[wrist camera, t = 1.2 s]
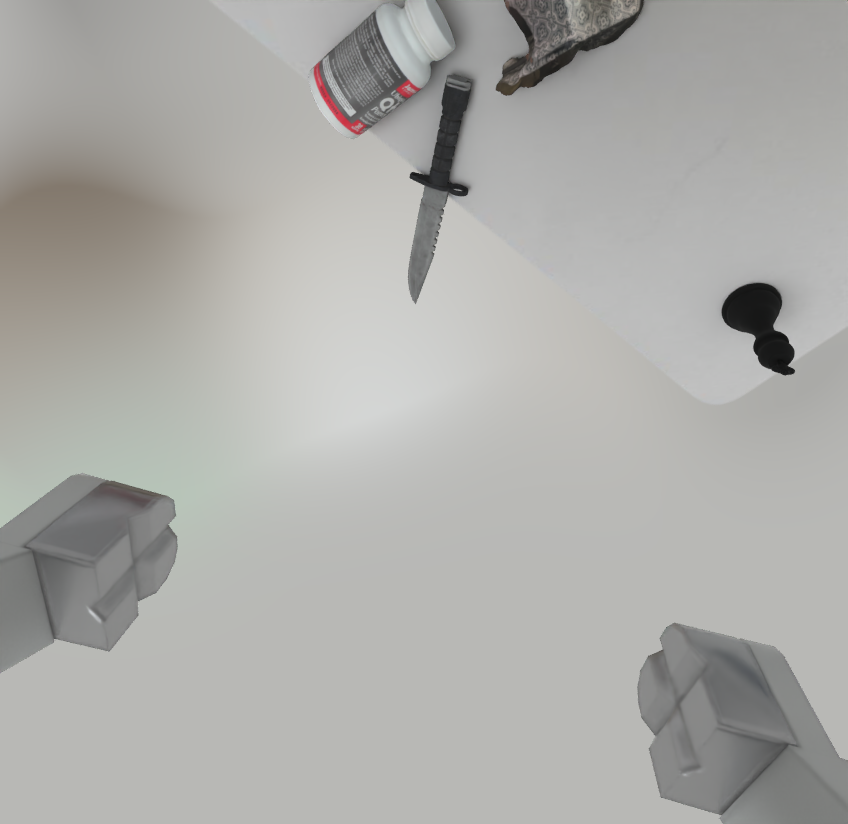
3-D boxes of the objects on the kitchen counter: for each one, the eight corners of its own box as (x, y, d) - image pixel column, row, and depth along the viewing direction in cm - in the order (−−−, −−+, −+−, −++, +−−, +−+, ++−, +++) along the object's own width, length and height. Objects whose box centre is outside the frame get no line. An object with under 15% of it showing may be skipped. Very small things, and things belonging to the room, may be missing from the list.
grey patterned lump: (434, 27, 33) (599, -144, 24) (474, -15, 37) (634, -180, 27) (505, 135, 37) (672, 23, 28) (536, 89, 40) (694, -25, 31)
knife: (392, 290, 51) (439, 306, 51) (386, 300, 50) (435, 316, 50) (432, 67, 38) (496, 86, 38) (425, 71, 37) (492, 91, 36)
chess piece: (764, 332, 45) (800, 403, 38) (712, 323, 46) (739, 391, 38) (791, 287, 42) (837, 355, 35) (736, 278, 43) (770, 343, 35)
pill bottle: (347, 152, 38) (458, 68, 33) (296, 83, 35) (410, -20, 30) (362, 125, 42) (463, 46, 37) (317, 61, 39) (421, -35, 34)
